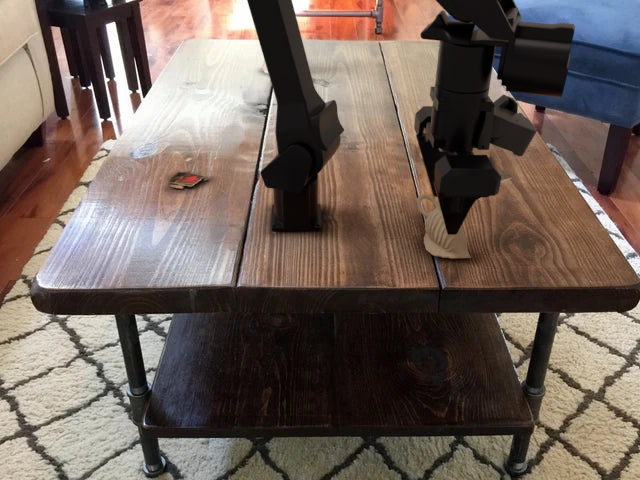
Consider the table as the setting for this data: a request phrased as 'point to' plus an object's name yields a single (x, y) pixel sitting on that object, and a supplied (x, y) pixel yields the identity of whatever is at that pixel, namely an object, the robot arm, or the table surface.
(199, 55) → the table surface
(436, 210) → the decorative ornament
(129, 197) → the table surface
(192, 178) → the matchbox
